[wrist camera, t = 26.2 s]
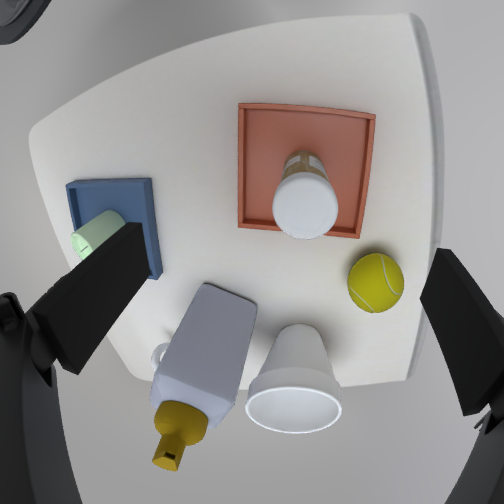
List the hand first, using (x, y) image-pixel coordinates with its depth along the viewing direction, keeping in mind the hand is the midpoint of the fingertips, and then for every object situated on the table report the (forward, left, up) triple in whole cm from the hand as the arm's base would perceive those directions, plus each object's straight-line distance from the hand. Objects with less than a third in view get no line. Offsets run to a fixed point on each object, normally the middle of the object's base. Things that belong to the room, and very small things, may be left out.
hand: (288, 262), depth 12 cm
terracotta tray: (+1, +1, -22) cm, 22 cm away
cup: (+27, +3, -22) cm, 35 cm away
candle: (+9, -25, -22) cm, 34 cm away
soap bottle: (+23, -9, -22) cm, 33 cm away
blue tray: (+10, -25, -22) cm, 35 cm away
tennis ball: (+13, +11, -22) cm, 28 cm away
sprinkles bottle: (+1, +1, -22) cm, 22 cm away
